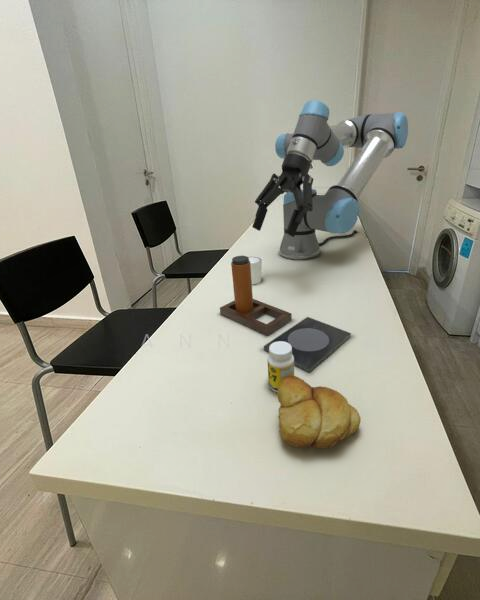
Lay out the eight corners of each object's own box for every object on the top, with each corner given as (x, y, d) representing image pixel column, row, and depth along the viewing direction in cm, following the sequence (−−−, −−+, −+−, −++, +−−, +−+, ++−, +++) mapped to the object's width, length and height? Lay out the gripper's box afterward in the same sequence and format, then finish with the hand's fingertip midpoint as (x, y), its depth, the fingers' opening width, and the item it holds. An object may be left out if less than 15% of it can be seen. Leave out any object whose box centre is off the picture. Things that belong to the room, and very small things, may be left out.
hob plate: (307, 320, 82) (307, 316, 81) (350, 336, 74) (351, 332, 74) (263, 349, 71) (263, 345, 71) (309, 372, 64) (309, 368, 63)
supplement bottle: (264, 380, 62) (262, 343, 59) (287, 373, 64) (286, 337, 60) (274, 396, 58) (273, 358, 55) (298, 388, 60) (298, 351, 56)
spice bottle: (244, 307, 89) (240, 253, 82) (257, 312, 86) (253, 257, 79) (232, 313, 86) (226, 259, 79) (244, 319, 83) (240, 263, 76)
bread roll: (357, 411, 55) (361, 373, 51) (363, 463, 46) (368, 422, 43) (280, 405, 57) (279, 368, 53) (272, 454, 48) (270, 413, 44)
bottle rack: (245, 301, 92) (244, 295, 91) (291, 320, 82) (291, 313, 81) (220, 314, 86) (219, 307, 85) (267, 336, 76) (267, 328, 75)
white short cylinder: (260, 286, 101) (259, 264, 98) (238, 284, 102) (236, 263, 99) (265, 277, 107) (264, 256, 104) (244, 276, 108) (243, 255, 105)
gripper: (259, 153, 97) (234, 221, 97) (327, 149, 80) (297, 232, 80) (275, 166, 102) (252, 231, 103) (342, 165, 85) (314, 243, 86)
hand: (272, 231), depth 91 cm, fingers open, 13 cm apart
